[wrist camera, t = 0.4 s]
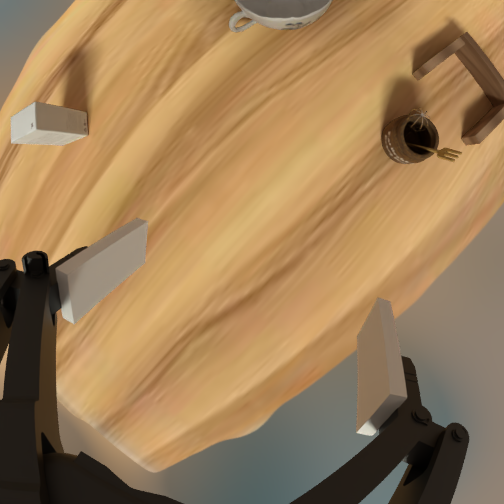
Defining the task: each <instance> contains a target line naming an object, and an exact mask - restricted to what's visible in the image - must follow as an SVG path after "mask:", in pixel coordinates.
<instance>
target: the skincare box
mask: <svg viewBox="0 0 504 504" xmlns="http://www.w3.org/2000/svg"><path fill="white" fill-rule="evenodd" d="M86 136H88V127H87V113H86V112H84V111H80V110H75V109H70V108H66V107H61V106H56V105H51V104H46V103H40V102H34V103H32V104H31V105H29V106H27V107H26V108H24V109H23V110H21V111H20V112H18V113H17V114H15V115H14V116H12V117H11V143H16V144H43V145H60V146H63V145H66V144H68V143H71V142H73V141H76V140H78V139H81V138H83V137H86Z"/></svg>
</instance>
